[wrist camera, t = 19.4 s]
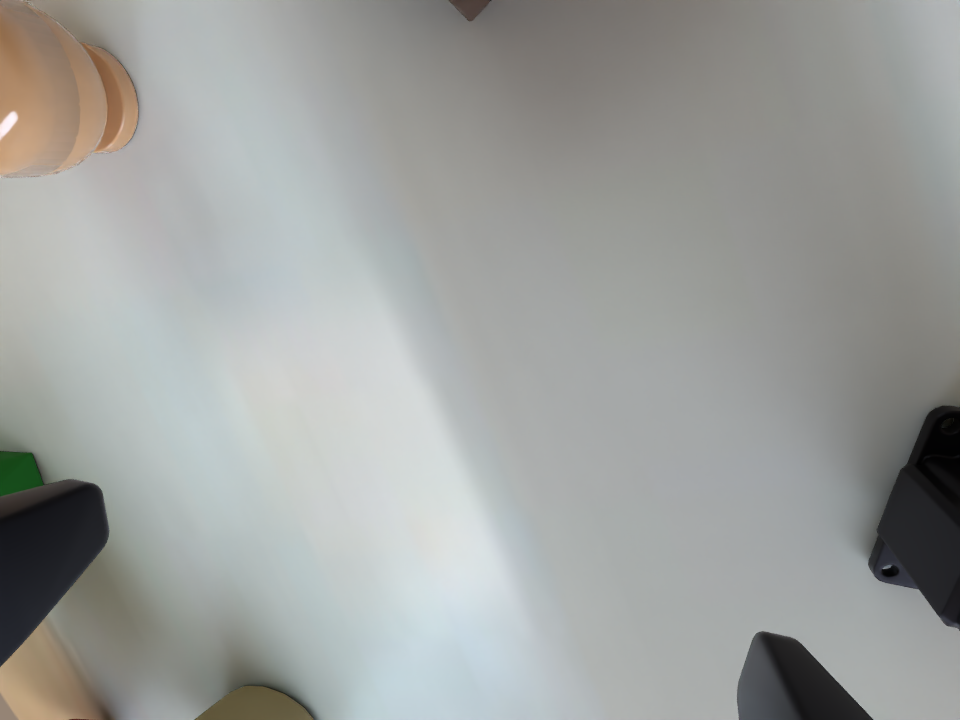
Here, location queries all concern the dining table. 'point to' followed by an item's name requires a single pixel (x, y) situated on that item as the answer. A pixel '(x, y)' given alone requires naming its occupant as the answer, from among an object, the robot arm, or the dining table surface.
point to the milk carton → (18, 472)
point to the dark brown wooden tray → (470, 7)
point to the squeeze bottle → (255, 706)
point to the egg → (57, 96)
